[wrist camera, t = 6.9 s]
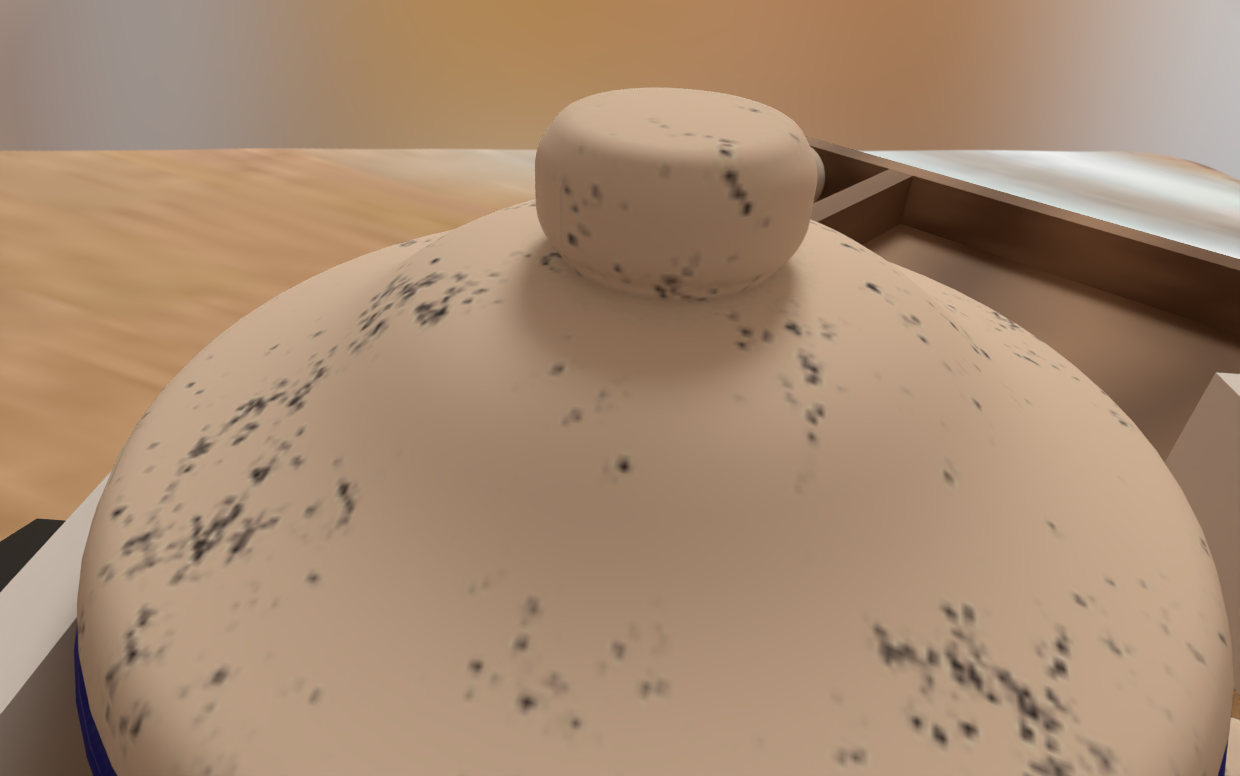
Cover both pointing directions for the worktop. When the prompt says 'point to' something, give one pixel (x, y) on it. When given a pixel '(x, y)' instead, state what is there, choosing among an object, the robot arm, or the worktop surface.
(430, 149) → the worktop surface
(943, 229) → the parts tray
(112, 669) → the teacup with lid
